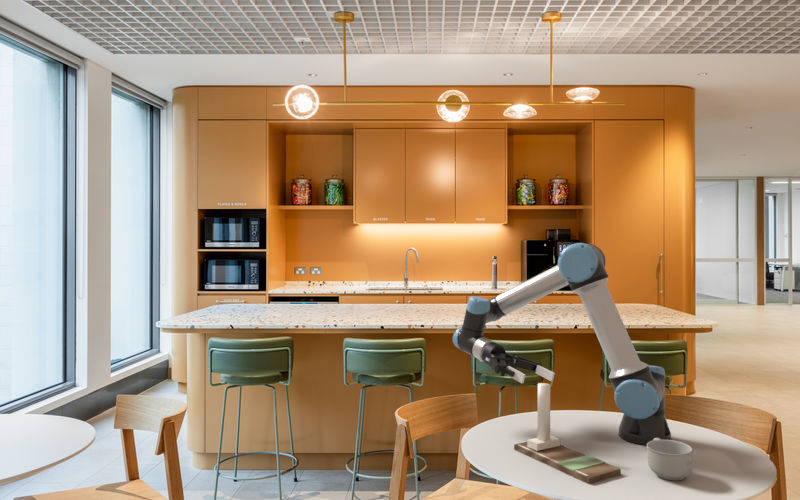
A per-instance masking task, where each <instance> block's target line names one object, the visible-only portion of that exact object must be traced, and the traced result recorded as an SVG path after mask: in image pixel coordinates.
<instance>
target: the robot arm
mask: <svg viewBox="0 0 800 500" xmlns="http://www.w3.org/2000/svg"><path fill="white" fill-rule="evenodd" d="M606 259H607V258H606V256H605V254H604V252H603V250H602V248H599V246H597V245H595V244H591V243H585V242H575V243H572V244H569V245H568V246H566V247H565V248H563V249H562V251H561V252H560V254H559V255H558V259H557V264H556V265H555V266H553V267H551V268H549V269H547V270H545V271H543V272H541V273H539V274H537V275H535V276H533V277H531V278H529V279H527V280H525V281H523V282H521V283H519V284H517V285H515V286H513V287H512V288H509V289H507V290H505V291H503V292H502V293H500V294H498V295H496V296H494V297H492V298H490V299H487V298H484V297H481V296H474V295H472V296H470V297H469V298H468V301H467V305H466V309H465V314H464V318H463V323H462V326H461V327H458V328H457V329H456V330H455V332H454V333H453V335H452V343H453V345H454V346H455V347H456V348H457V349H459V350H460V351H461V352H464V353H466V354H468V355H469V356H472V357H474V358H476V359H478V360H479V362H480V363H482V362H483V363H484V364H485V365H488V366H489V367H490V368H491V369H492V370H493V372H494V373H496V374H500V376H501V377H505V375H506V376H508V377H509V378H511V379H513V380H514V381H516V382H518V383H520V384H524V383H525V379H526V374H525V373H523V372H522V371H520V370H517V368H520V369H523V370H527V371H529V372H530V371H531V372H534V373H535V374H536V375H538V376H540V377H542V378H543V379H545V380H547V381H550V382H554V378H555V372H554V371H552V370H549V369H548V368H547V367H546V368H545V367H544V366H542V365H543V363H541V362H540V361H539V362H538V361H535V360H532V359H529V358H526V357H523V356H520V355H518V354H516V353H513V354H511V353H507V352H506V349H505V347H504V346H503V345H501V344H499V343H498V342H495V341H493V340H492V339H489V338H487V337H485V336H483V335H484V332H485V328H486V324H487V323H488V324H489V323H491V322H497V321H498V320H500V319H501V318H503V317H505V316H507V315H508V314H511V313H512V312H513V313H514V312H515V311H517V310H519V309H521V308H523V307H525V306H527V305H530V304H532V303H533V302H536V301H537V300H540V299H542V298H545V297H546V296H548V295H550V294H552V293H554V292H556V291H558V290H560V289H563V288H564V287H567V286H569V287H570V289H571V292H572V293H574V294H576V295H578V296H579V298H580V300H581V302H582V305H583V308H584V309H585V312H586V314H587V316H588V319H589V321H590V323H591V326H592V328H593V330H594V333H595V335H596V337H597V340H598V342H599V344H600V345H599V346H600V347H601V349H602V351H603V354H604V356H605V359H606V360H607V363H608V366H609V368H610V373H609V375H608V379H609V381H610V383H611V386H612V388H613V391H614V392H613V393H614V401H615V405H616V406H617V408H618V409H619V411H620V412H621V413H622V414H623V415H622V417H621V421H620V423H619V427H618V436H619V438H621V439H622V440H623V441H627V442H629V443H633V444H636V445H642V446H646V445H647V443H648V442H650V441H653V439H654V438H660V439H661V440H672V433H671V431H670V427H669V424H668V422H667V418H666V378H667V377H666V372H665V369H664V367H662V366H657V365H651V364H648V363H647V362H646V363H645V362H643V361H641V360H640V357H639V355H638V353H637V351H636V349H635V347H634V344H633V342H632V340H631V337H630V336H629V332H628V331H627V328H626V325H625V324H624V321H623V320H622V317H621V314H620V313H619V310H618V308H617V306H616V303H615V302H614V299H613V296H612V294H611V292H610V290H609V288H608V286H607V285H608V282H609V280H610V276H609V274H608V273H607V270H606V264H607V263H606V262H607V261H606Z"/></svg>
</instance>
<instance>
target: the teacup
mask: <svg viewBox="0 0 800 500" xmlns="http://www.w3.org/2000/svg"><path fill="white" fill-rule="evenodd" d="M645 446H646V450H647V463H648V467H649V469H650V470H651V471H652V472H653V473H654V474H655V475H656V476H658V477H659V478H662V479H664V480H668V481H680V480H681V481H682V480H684V479H685V478H687V477H688V476H690V474H691V472H692V469H693V448H692V446H690V445H689V444H688V443H685V442H683V441H679V440H674V439H671V440H661V439H660V438H654V439H653V441H650V442H648V443H647V445H645Z"/></svg>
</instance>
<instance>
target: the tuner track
mask: <svg viewBox="0 0 800 500" xmlns="http://www.w3.org/2000/svg"><path fill="white" fill-rule="evenodd" d="M513 449H514V450H515V451H517V452H519V453H520V454H523V455H525V456H527V457H530V458H531V459H534V460H536V461H538V462H540V463H543V464H544V465H547V466H549V467H551V468H552V469H553V468H554V469H556V470H558V471H560V472H562V473H564V474H567V475H568V476H571V477H573V478H575V479H577V480H579V481H581V482H584V483H586V484H587V485H589V484H593V483H596V482H601V481H604V480H606V479H607V480H608V479H610V478H613V477H617V476H620V475H621V474H622V471H621V468H619V467H616V466H614V465H611V464H609V463H606V461H604V460H601V459H598V458H596V457H594V456H592V455H589V454H585V453H583V452H580V451H578V450H574V449H572V448H570V447H567V446H565V445H563V444H561V443H560V446H556V447H552V448H548V449H543V450H539V451H536V450H534V449H531V448H529V447H527V441H525V442H520V443H514V444H513Z"/></svg>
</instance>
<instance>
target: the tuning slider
mask: <svg viewBox="0 0 800 500" xmlns="http://www.w3.org/2000/svg"><path fill="white" fill-rule="evenodd" d="M536 418H537V424H536V425H537V429H536V430H537V433H536V434H537V435H536V436H537V437H535V438H530V439H527V441H526V442H527V447H529V448H531V449H534V450H536V451H539V450H543V449H548V448H552V447H556V446H560V444H561V438H559V437H557V436H554V435H551V384H550V383H547V382H546V383H545V382H540V383H537V417H536Z"/></svg>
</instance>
